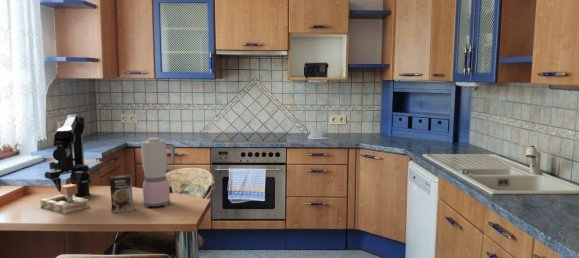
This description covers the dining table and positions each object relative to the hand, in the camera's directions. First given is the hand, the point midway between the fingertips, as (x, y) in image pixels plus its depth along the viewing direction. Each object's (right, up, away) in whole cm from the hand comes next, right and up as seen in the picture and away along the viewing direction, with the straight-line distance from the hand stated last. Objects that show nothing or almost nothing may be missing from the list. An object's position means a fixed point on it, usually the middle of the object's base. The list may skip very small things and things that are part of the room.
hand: (69, 189), depth 213 cm
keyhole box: (-4, -9, +4) cm, 10 cm away
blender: (+41, -8, +5) cm, 42 cm away
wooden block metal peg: (0, -9, +1) cm, 9 cm away
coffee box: (+26, -9, -3) cm, 28 cm away
